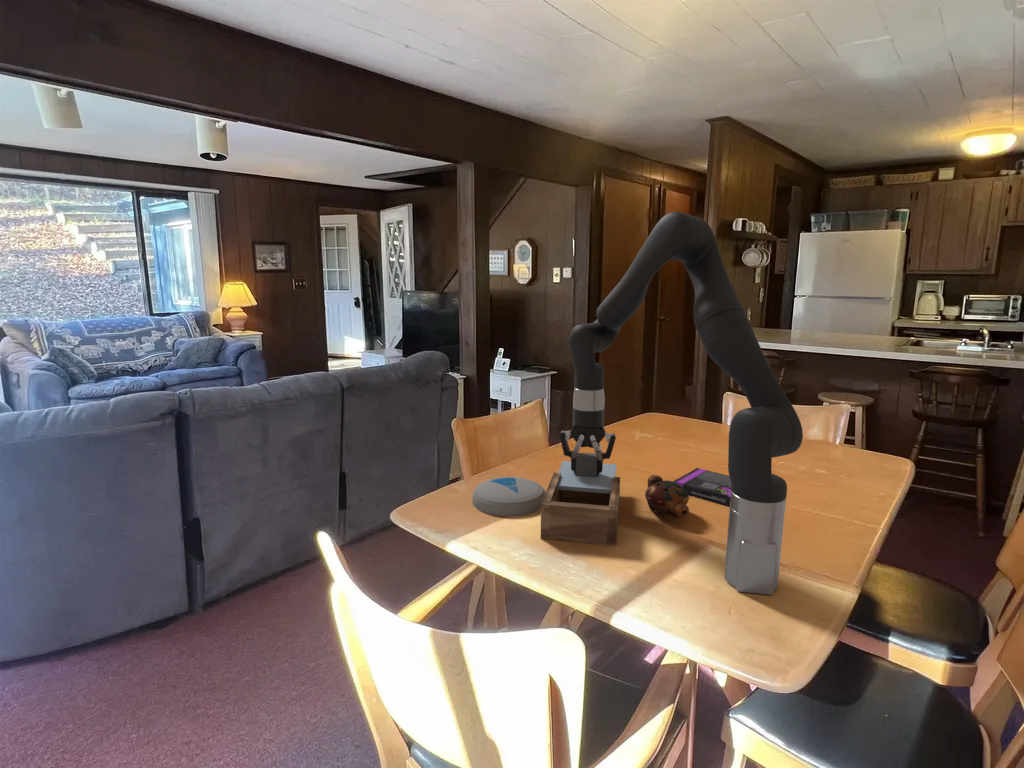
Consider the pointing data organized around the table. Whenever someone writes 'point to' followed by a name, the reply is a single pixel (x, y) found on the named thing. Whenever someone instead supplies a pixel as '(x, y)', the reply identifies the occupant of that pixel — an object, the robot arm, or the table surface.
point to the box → (707, 485)
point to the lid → (586, 475)
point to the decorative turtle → (666, 497)
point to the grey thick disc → (508, 496)
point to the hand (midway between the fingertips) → (586, 472)
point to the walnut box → (580, 514)
